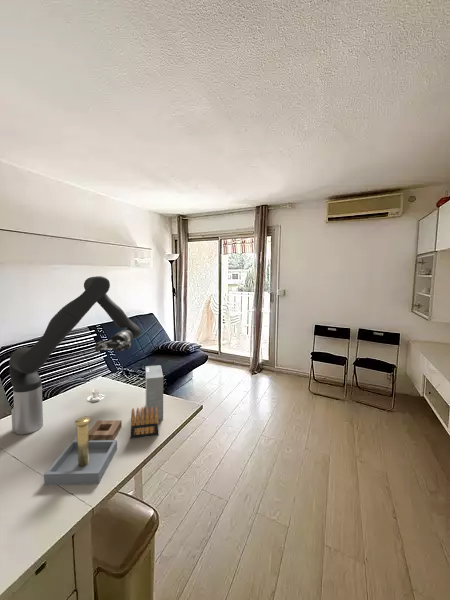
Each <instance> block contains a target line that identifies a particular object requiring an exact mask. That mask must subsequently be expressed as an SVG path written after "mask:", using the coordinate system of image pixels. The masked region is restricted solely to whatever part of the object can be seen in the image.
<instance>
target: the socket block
mask: <svg viewBox="0 0 450 600" xmlns="http://www.w3.org/2000/svg"><path fill="white" fill-rule="evenodd" d="M122 422H123V421H122V420H121V419H117V420H116V419H115V420H106V419H105V420H102V419H101V420H100V419H99V420H96V421H95V423H94V424H93V425H92V426H91V428H90V429H89V440H116V437H117V435H118V434H119V432H120V431H121V429H122V426H123V425H122Z"/></svg>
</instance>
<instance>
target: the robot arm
mask: <svg viewBox="0 0 450 600" xmlns="http://www.w3.org/2000/svg"><path fill="white" fill-rule="evenodd" d="M83 288H84V291H83V292H82V293H81V294H80V295H79V296H77V297H76V298H75V299H73V300H71V301H70V302H68V303H66V304H65V305H64V306H62V307H61V308H60V309H59V310H58V311H57V312H56V313H55V314H54V315H53V317H51V319H50V321H48V324H47V327H46V329H45V331H44V333H43V335H42V336H41V338H40V339H39V340H38V341H36V342H35V344H34V345H32V347H20V348H18V349H16V350H15V351H13V352H12V353H11V355H10V356H9V357H10V358H9V363H8V365H9V366H8V367H9V375H10V376H9V377H10V383H11V385H12V392H13V394H12V395H13V407H12V408H11V411H10V413H11V429H12V433H15V434H17V435H26V434H31V433H35V432H36V431H39V430H40V429H41V428H42V427H43V426H44V413H43V411H44V410H43V385H42V384H43V383H42V378H41V376H40V375H39V372H38V371H39V370H40V369H41V368H42V367H43V366H44V365H45V363H46V362H47V360H48V359H49V357H50V356H51V355H52V354H53V352H54V351H55V349H56V348H57V347H58V346H59V345H60V344H61V343H62V342H63V341H64V339H65V338H66V337H67V336H68V335H69V333H70V332H71V331H72V330H73V329H75V327H76V326H77V325H78V324H79V323H80V321H81V320H83V317H85V315H86V314H88V312H89V311H90V309H91V308H92V307H93V306H94V305H95V304H96V303H98V305H99V306H100V307H101V308H102V309H103V310H104V311H105V313H106V314H107V315H108V316H109V318H110V319H111V320H112V322H113V323H114V324H115V326H116V327H117V328H119V329H122V330H120V331H119V332H117V333H116V334H114V335H112V336H111V337H110V338H109V340H108V341H104V340H99V341H98V342H96V343H95V344H94V349H95V352H96V353H99V352H101V351H102V350H105V351H107V350H114V351H116V353H120V352H122V351H124V350H125V351H128V350H130V348H131V346H132V340H134V339H135V338H138V337H140V335H141V333H142V332H141V328H140V327H139V326H138V325H137V324H136V323H134V322H133V321H132V320H131V319H130V318H129V317H128V315H127V314H126V313H125V312H124V310H123V309H122V308H121V307H120V306H119V305H118V304H117V303H115V301H113V300H112V299H111V298H110V297H109V296H108V294H107V293H108V292H109V291H110V288H111V283H110V280H109V279H108V278H107V277H105V276H100V275H99V276H90V277H88V278H86V279H85V280H84V282H83ZM123 328H124V329H123Z"/></svg>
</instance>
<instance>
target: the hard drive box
mask: <svg viewBox="0 0 450 600" xmlns="http://www.w3.org/2000/svg"><path fill="white" fill-rule="evenodd" d="M151 406H152V407H153V415H154V414H155V407H156V406H157V409H158V421H159V420H163V419H164V373H163V370H162V365H160V364H159V365H157V364H156V365H148V366H147V365H146V366H145V408H146V407H148V410H149V420H150V409H151Z"/></svg>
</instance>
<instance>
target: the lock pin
mask: <svg viewBox="0 0 450 600" xmlns="http://www.w3.org/2000/svg"><path fill="white" fill-rule="evenodd" d="M90 422H91V417H89V416H82V417H79V418H77V419H76V420H75V421H74V425H75V426H76V427H77V428H76V429H77V430H76V431H77V435H76V436H77V441H78V466H79V467H84V466H86V465H88V463H89V430H90V429H89V428H90V427H89V423H90Z"/></svg>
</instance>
